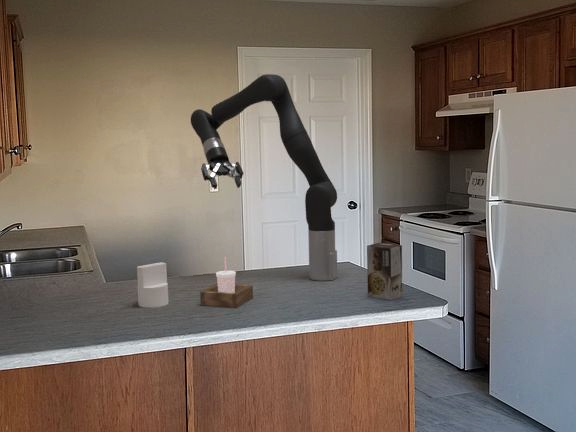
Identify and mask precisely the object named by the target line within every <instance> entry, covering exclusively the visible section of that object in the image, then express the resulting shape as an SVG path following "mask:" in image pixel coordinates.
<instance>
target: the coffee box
mask: <svg viewBox="0 0 576 432" xmlns="http://www.w3.org/2000/svg"><path fill="white" fill-rule="evenodd" d="M366 265H367V267H366V268H367V272H366V273H367V297H370V298H376V299H382V300H387V301H393V300H396V299H399V298H403V245H402V244H396V243H395V244H393V243H385V242H375V243H372V244H370V245H367V246H366Z"/></svg>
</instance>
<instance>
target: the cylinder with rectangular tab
mask: <svg viewBox="0 0 576 432" xmlns="http://www.w3.org/2000/svg"><path fill="white" fill-rule="evenodd" d="M136 272H137V273H136V274H137V300H138V302H137V304H138V306H139V307H141V308H159V307H164V306H166V305H168V304H169V284H168V275H167V273H168V269H167V263H166V262H161V261H160V262H156V263H155V262H154V263H150V264H144V265H143V264H142V265H139V266H136Z"/></svg>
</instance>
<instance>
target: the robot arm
mask: <svg viewBox="0 0 576 432" xmlns="http://www.w3.org/2000/svg"><path fill="white" fill-rule="evenodd" d="M262 102H270V103H271V104H272V105H273V107H274V110H275V112H276V114H277V117H278V120H279V121H278V122H279V134H280V139H281V142H282V144H283V147H284V148H285V150H286V153H287V155H288V156H289V158H290V159H291V160H292V162H293V163H294V164H295V165H296V167H297V168H298V169H299V170H300V171H301V173H302V174H303V175H304V177H305V179H306V181H307V184H308V185H309V188H307V190H306V191H305V199H304V203H305V204H304V205H305V219H306V220H305V221H306V224H307V225H308V226H307V227H308V231H307V232H308V233H307V234H308V275H309V280H313V281H319V282H320V281H334V280H335V279H337V277H338V250H337V249H336V223H335V220H334V219H333V218H332V207H334V206H335V204H336V203H337V200H338V191H337V190H336V188H335V185H334V184H333V182H332V181H331V179H330V177H329V175H328V174H327V173H326V170H325V169H324V167H323V165H322V162H321V161H320V158H319V156H318V153H317V152H316V149H315V147H314V145H313V142H312V141H311V138H310V135H309V134H308V132H307V130H306V128H305V126H304V123H303V121H302V119H301V117H300V115H299V113H298V111H297V109H296V106H295V104H294V101H293V98H292V96H291V93H290V89H289V86H288V84H287V82H286V80H285V78H283V77H282V76H281V75H278V74H270V73H268V74H267V73H266V74H262V75H260V76H259V77H257V78H256V79H255V80H253V81H252V82H251V83H250V84H249V85H247V86H246V87H244V88H243V89H242V90H240V91H239V92H237V93H235V94H234V95H232V96H230V97H228V98H226V99H224V100H222V101H220V102H219V103H216V104H215V105H213V106H212V107H211V111H210V112H211V113H209V112H207V111H206V110H204V109H195V110H194V111H193V112H192V114H191V115H190V124H191V127H192V129H193V130H194V132H195V133H196V135H197V136H198V137H199V139H200V142H201V145H202V148H203V152H204V156H205V158H206V162H207V164H206V163H202V164H201V168H200V170H201V173H202V178H203V180H204V181H209V182H210V185H211V187H212V188H213V189H214V190H217V189H218V183H217V180H216V176H218V177H221V176H225V177H226V176H227V177H228V178H232V179H233V180H234V183H235V185H236V188H237V189H239V188H240V187H241V186H242V179H243V175H244V170H243V168H242V167H241V164H240V162H238V161H236V162H235V163H231V162H230V159H229V156H228V153H227V151H226V148H225V144H224V143H223V141H222V140H221V139H222V138H221V137H220V134H219V132H218V129H219V128H220V127H221V126H222V125H223V124H224V123H225V122H227V121H229V120H231V119H234V118H235V117H237V116H238V115H240V114H241V113H243V111H245V109H247V108H249V107H250V106H252V105H255V104H259V103H262ZM208 170H209V171H211V174H209V172H208Z"/></svg>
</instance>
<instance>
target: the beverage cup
mask: <svg viewBox="0 0 576 432" xmlns="http://www.w3.org/2000/svg"><path fill="white" fill-rule="evenodd" d="M227 269H228V268H227V256H224V270H220V271H216V272H215V276H216V279H217V280H216V281H217V283H218V292H226V293H235V284H236V275H237V274H236V273H237V272H236V271H235V270H227ZM217 283H216V284H217Z"/></svg>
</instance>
